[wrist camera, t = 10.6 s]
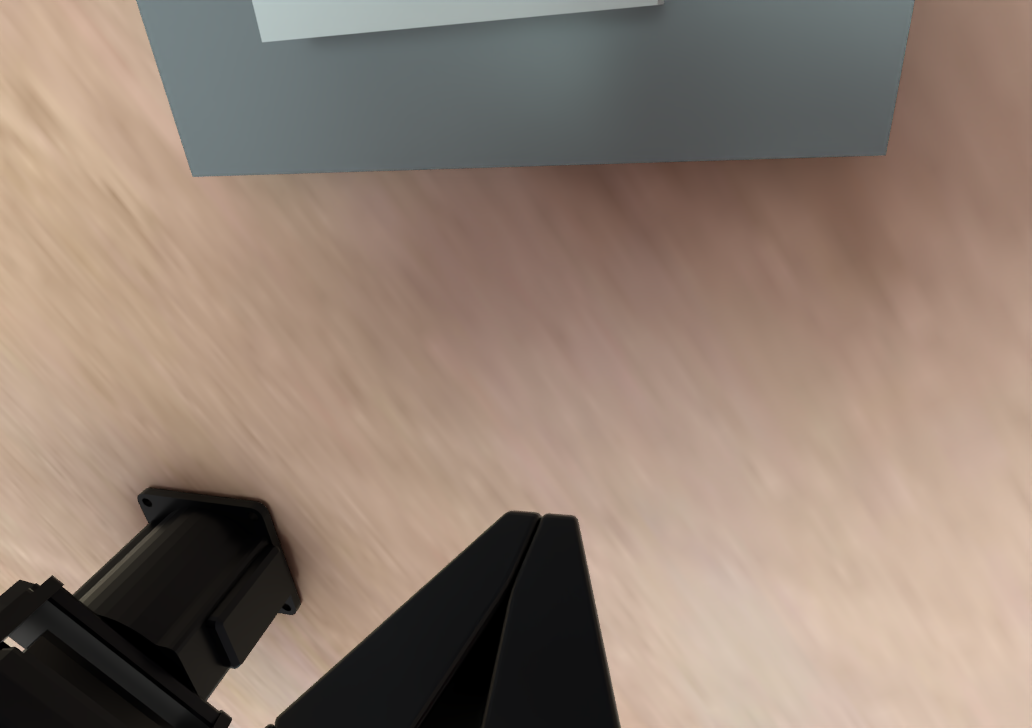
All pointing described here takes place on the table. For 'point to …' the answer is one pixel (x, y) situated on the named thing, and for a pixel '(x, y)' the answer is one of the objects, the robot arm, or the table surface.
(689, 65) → the socket plate
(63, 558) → the table surface
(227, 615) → the robot arm
